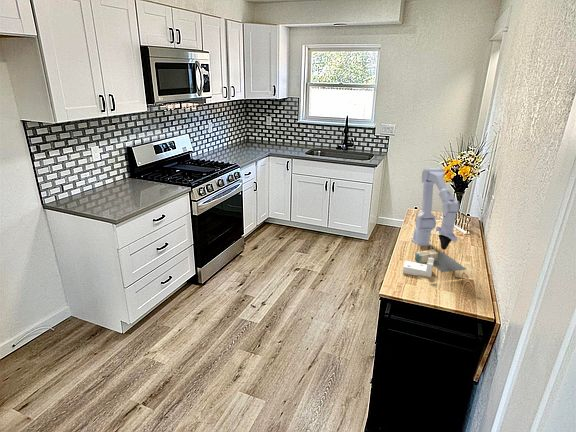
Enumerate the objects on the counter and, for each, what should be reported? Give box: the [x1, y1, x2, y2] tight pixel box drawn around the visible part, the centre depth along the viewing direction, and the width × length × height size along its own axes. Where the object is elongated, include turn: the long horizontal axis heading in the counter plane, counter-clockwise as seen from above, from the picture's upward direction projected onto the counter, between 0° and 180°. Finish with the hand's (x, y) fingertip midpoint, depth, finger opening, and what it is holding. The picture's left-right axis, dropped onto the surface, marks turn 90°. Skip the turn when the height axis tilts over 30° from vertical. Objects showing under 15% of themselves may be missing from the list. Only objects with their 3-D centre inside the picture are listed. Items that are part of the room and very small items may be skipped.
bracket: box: [402, 257, 434, 278], centre depth 180 cm, size 13×7×8 cm, turn 67°
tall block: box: [414, 249, 439, 264], centre depth 191 cm, size 4×4×10 cm
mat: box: [433, 252, 467, 273], centre depth 191 cm, size 19×14×1 cm
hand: (443, 248), depth 189 cm, fingers closed
